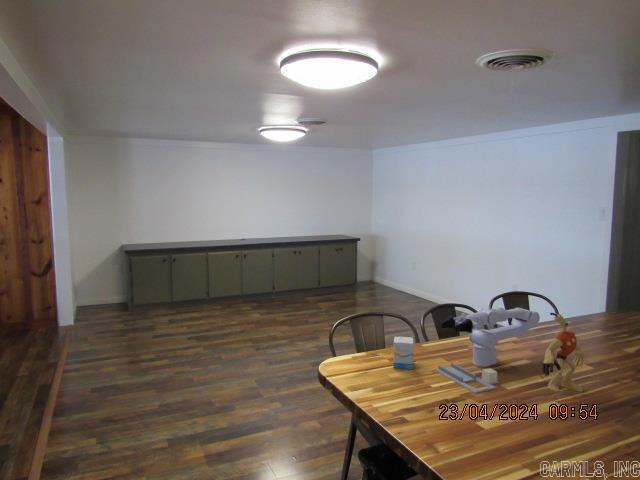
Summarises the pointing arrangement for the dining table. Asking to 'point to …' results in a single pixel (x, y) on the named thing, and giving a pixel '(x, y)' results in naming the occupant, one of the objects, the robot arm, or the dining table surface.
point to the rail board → (463, 377)
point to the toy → (563, 357)
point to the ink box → (403, 353)
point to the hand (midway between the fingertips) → (448, 327)
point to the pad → (491, 383)
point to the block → (489, 375)
